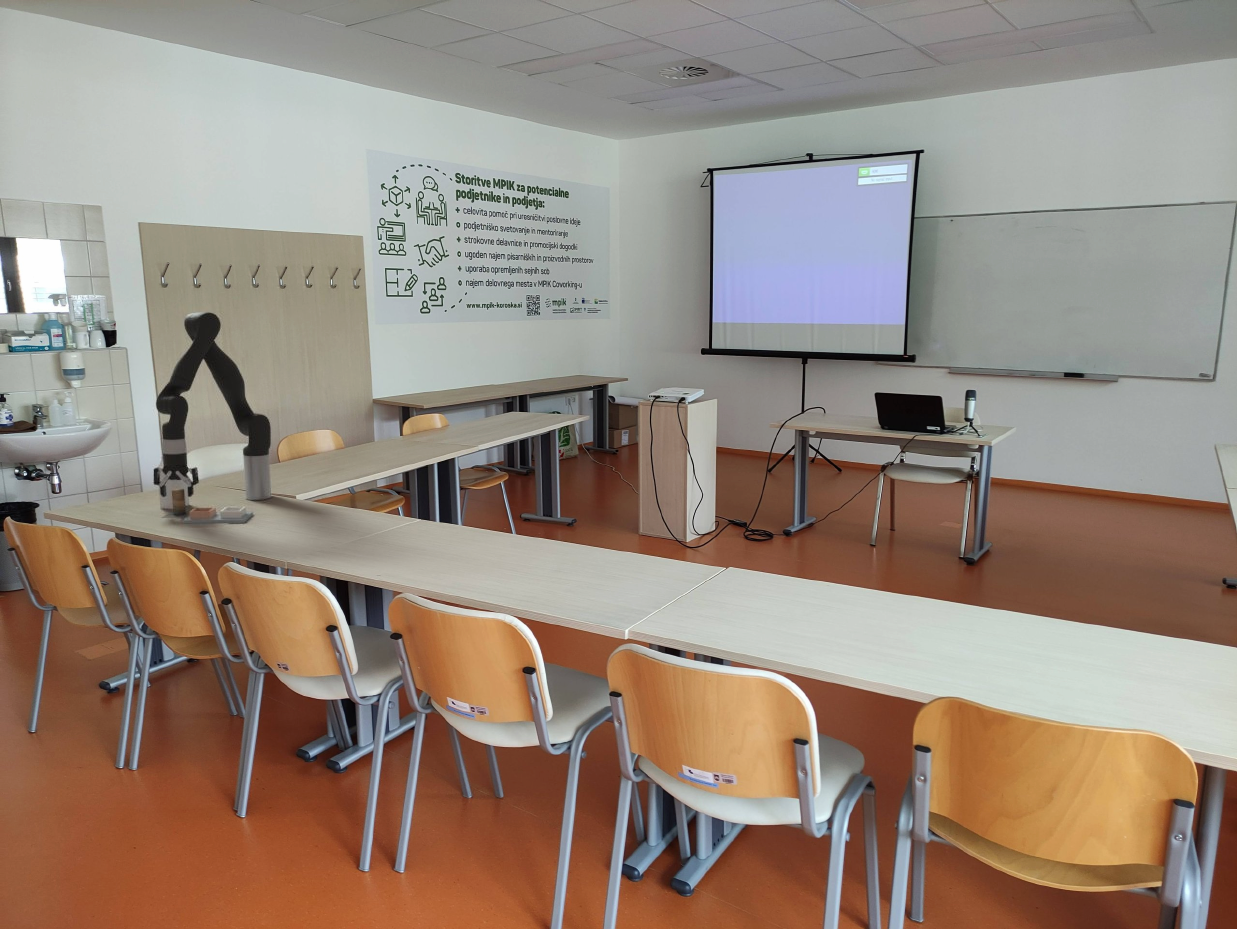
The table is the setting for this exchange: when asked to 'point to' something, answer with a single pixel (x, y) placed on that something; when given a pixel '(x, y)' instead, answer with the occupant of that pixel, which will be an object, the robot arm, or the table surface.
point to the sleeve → (178, 502)
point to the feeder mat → (171, 515)
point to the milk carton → (170, 485)
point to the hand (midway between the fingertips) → (177, 496)
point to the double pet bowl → (218, 515)
